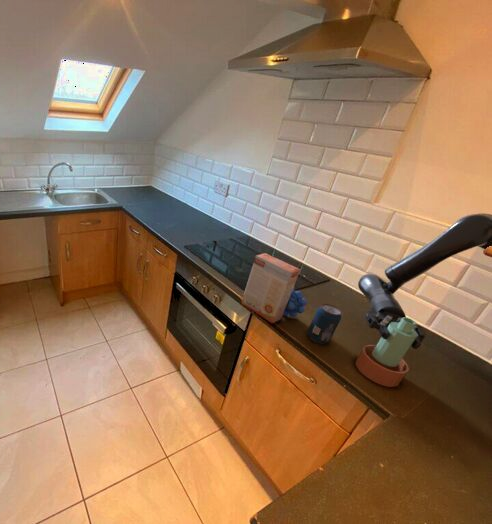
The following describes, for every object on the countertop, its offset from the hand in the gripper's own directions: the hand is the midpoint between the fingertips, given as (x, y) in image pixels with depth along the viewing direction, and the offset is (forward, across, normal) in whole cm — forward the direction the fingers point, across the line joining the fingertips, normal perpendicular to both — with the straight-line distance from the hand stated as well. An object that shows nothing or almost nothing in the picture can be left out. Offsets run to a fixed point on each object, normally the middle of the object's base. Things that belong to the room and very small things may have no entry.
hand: (401, 341), depth 81 cm
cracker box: (-15, -35, +14) cm, 40 cm away
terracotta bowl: (-2, 0, +14) cm, 14 cm away
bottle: (-2, 0, +8) cm, 9 cm away
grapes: (-16, -26, +14) cm, 34 cm away
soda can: (-10, -16, +14) cm, 23 cm away
